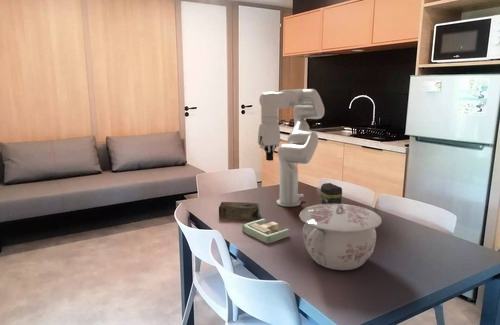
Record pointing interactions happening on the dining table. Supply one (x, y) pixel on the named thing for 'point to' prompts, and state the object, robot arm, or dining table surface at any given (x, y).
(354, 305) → the dining table surface
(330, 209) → the chamber pot
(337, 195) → the coffee jar
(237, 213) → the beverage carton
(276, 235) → the dock
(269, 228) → the t block
